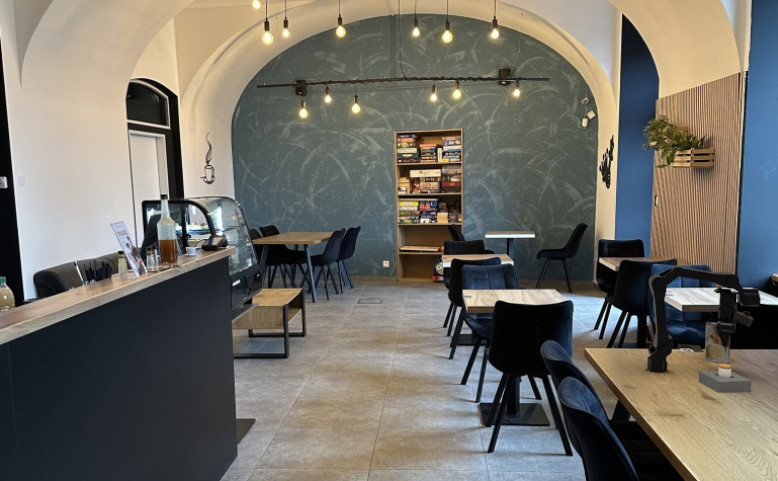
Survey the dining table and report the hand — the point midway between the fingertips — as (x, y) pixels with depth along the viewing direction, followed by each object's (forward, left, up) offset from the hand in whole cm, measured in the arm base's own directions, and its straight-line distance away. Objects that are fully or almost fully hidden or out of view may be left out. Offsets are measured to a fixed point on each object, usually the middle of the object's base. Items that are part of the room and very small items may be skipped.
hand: (725, 344), depth 218 cm
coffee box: (+11, +22, -14) cm, 28 cm away
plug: (-8, -12, -13) cm, 19 cm away
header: (-8, -12, -14) cm, 20 cm away
